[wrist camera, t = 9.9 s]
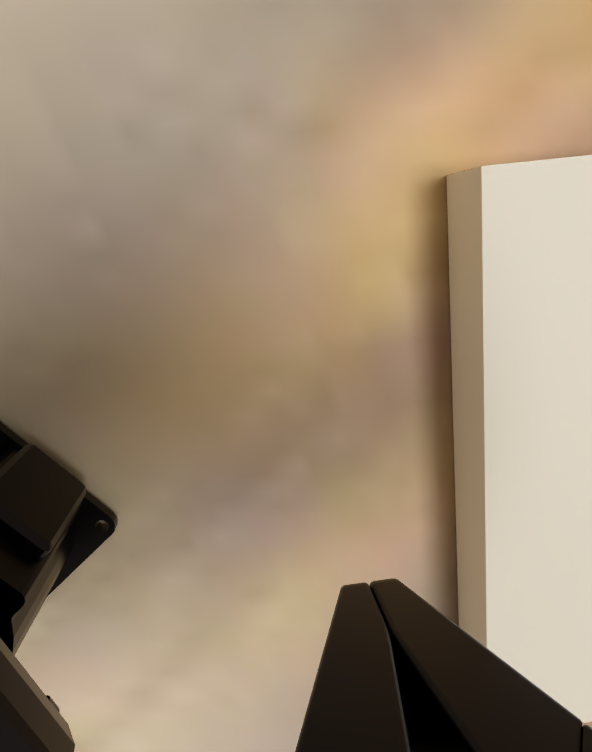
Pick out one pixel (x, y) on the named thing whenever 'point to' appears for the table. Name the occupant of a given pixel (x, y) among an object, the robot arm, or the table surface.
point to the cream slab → (525, 416)
